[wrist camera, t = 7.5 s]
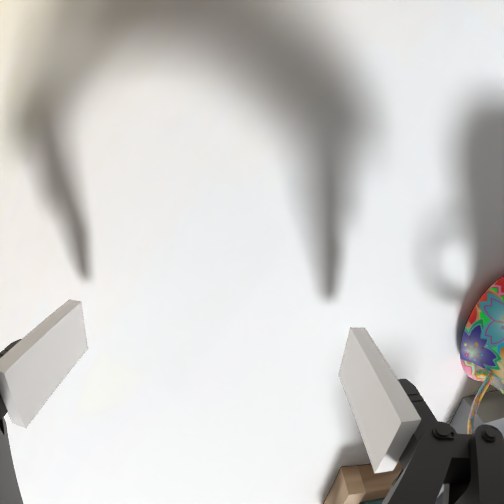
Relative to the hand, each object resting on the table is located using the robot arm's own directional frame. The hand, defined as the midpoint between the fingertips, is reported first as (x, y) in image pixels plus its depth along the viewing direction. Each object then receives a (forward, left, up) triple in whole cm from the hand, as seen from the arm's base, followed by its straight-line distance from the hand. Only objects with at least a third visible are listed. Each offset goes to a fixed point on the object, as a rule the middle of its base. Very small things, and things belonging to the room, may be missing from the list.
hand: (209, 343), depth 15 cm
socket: (+16, +14, -3) cm, 22 cm away
